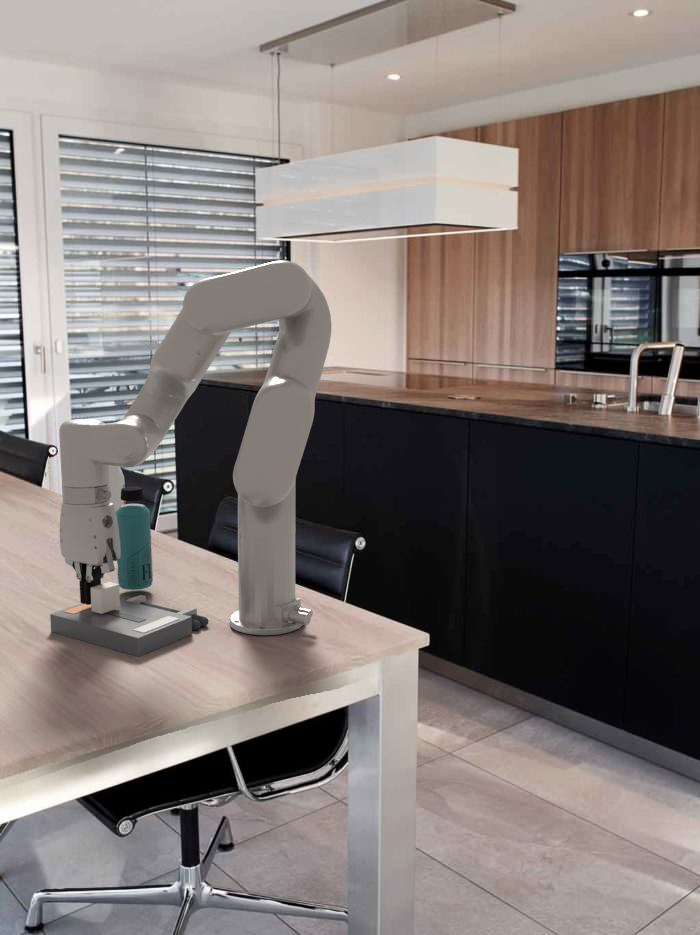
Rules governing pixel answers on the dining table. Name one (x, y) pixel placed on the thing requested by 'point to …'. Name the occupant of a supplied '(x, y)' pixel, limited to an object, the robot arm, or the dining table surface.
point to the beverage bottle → (134, 542)
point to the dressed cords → (175, 611)
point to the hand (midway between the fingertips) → (91, 601)
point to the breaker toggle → (105, 597)
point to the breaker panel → (123, 627)
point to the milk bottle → (116, 486)
